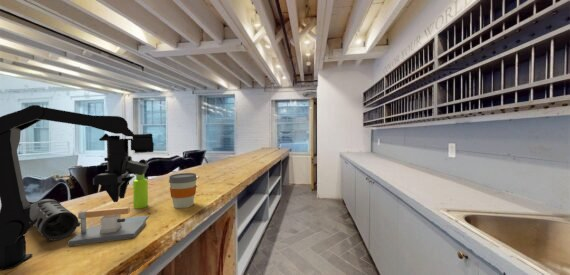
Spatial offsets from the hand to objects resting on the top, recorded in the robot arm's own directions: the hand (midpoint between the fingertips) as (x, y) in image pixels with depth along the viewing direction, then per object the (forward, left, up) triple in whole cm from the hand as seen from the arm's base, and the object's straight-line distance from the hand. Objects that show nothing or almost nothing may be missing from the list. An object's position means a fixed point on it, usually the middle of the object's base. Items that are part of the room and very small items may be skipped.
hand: (119, 200), depth 74 cm
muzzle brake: (+20, +24, -10) cm, 32 cm away
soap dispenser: (+36, +5, -13) cm, 39 cm away
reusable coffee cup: (+32, -15, -13) cm, 38 cm away
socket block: (+5, +5, -13) cm, 15 cm away
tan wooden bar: (+5, +6, -6) cm, 10 cm away
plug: (+5, +5, -13) cm, 15 cm away
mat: (+16, +1, -13) cm, 21 cm away
